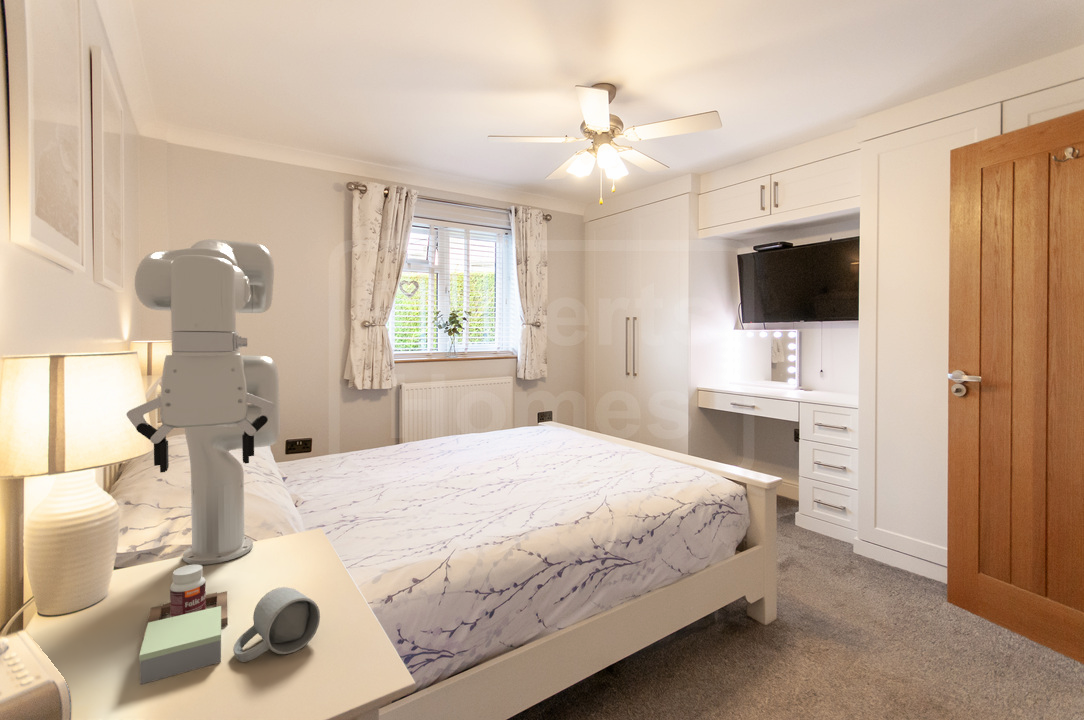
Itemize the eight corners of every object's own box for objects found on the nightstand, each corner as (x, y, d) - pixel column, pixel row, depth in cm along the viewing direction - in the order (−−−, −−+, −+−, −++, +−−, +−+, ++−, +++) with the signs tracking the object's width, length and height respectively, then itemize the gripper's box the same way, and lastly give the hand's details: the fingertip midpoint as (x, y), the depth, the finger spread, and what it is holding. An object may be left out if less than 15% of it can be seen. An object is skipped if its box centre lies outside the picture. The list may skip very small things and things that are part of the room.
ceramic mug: (299, 620, 83) (298, 574, 82) (321, 640, 77) (320, 591, 77) (225, 650, 75) (224, 600, 74) (244, 675, 69) (243, 621, 69)
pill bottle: (188, 629, 80) (187, 577, 79) (162, 626, 81) (162, 574, 80) (213, 613, 84) (212, 564, 84) (189, 610, 85) (188, 561, 85)
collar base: (151, 613, 84) (151, 606, 84) (227, 596, 90) (227, 590, 90) (142, 647, 75) (142, 639, 75) (227, 625, 81) (227, 618, 81)
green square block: (148, 649, 75) (148, 622, 74) (221, 630, 79) (221, 605, 79) (139, 684, 67) (139, 655, 67) (221, 662, 72) (220, 634, 72)
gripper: (271, 345, 79) (273, 454, 79) (129, 344, 69) (132, 468, 70) (276, 345, 72) (277, 463, 73) (121, 345, 63) (123, 480, 64)
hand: (206, 465), depth 72 cm, fingers open, 9 cm apart
